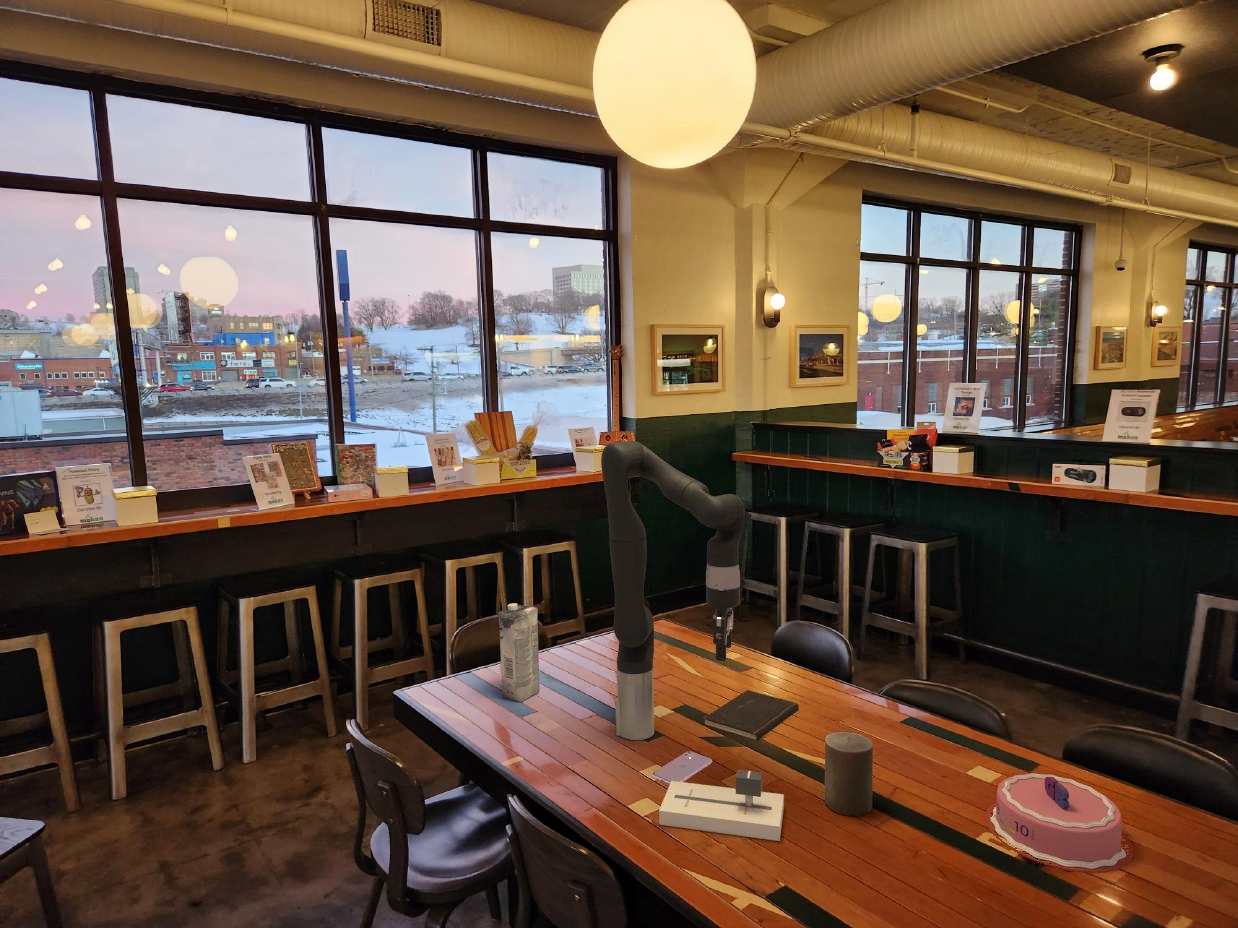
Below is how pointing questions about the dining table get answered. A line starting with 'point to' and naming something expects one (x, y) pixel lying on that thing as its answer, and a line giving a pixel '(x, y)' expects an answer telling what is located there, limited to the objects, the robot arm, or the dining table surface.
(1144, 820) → the dining table surface
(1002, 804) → the cake
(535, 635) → the juice carton
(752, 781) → the fader
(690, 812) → the dimmer panel
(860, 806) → the pillar candle
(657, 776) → the mobile phone
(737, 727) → the hardcover book
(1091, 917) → the dining table surface
